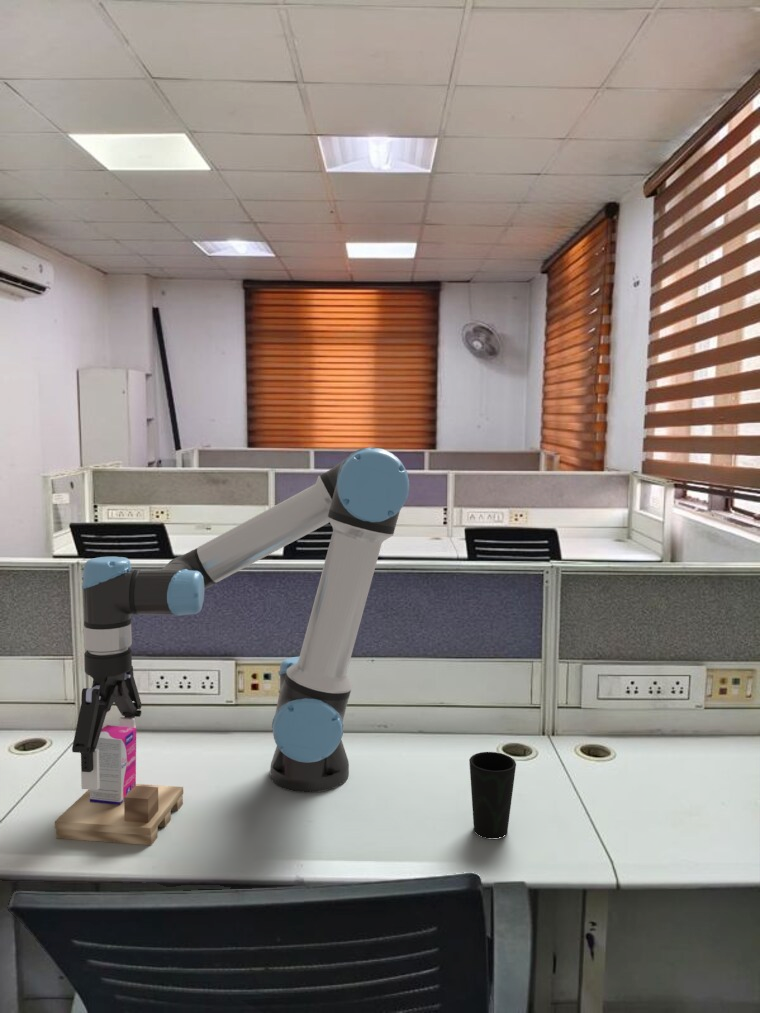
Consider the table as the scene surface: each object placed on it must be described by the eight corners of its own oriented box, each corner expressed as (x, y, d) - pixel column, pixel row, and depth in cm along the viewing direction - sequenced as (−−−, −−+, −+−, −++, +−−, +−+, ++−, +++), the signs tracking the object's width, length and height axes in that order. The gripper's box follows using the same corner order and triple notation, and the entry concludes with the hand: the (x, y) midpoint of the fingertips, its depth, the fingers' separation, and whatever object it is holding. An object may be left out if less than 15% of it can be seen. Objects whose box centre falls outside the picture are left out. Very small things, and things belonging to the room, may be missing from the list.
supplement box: (121, 805, 123) (120, 739, 122) (88, 802, 124) (87, 737, 123) (137, 789, 129) (137, 726, 128) (106, 786, 130) (105, 724, 129)
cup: (502, 847, 117) (505, 775, 116) (459, 833, 121) (461, 764, 120) (520, 827, 124) (522, 758, 123) (479, 814, 128) (480, 747, 127)
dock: (183, 803, 130) (183, 787, 130) (150, 846, 116) (150, 828, 116) (97, 797, 132) (97, 781, 132) (55, 839, 118) (54, 821, 118)
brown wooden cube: (158, 810, 122) (158, 787, 121) (148, 822, 118) (148, 798, 117) (135, 808, 122) (135, 785, 122) (124, 821, 118) (124, 797, 118)
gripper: (120, 629, 137) (122, 739, 138) (46, 670, 112) (49, 803, 114) (159, 631, 136) (160, 741, 138) (92, 672, 111) (95, 807, 113)
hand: (110, 770), depth 126 cm, fingers open, 13 cm apart
